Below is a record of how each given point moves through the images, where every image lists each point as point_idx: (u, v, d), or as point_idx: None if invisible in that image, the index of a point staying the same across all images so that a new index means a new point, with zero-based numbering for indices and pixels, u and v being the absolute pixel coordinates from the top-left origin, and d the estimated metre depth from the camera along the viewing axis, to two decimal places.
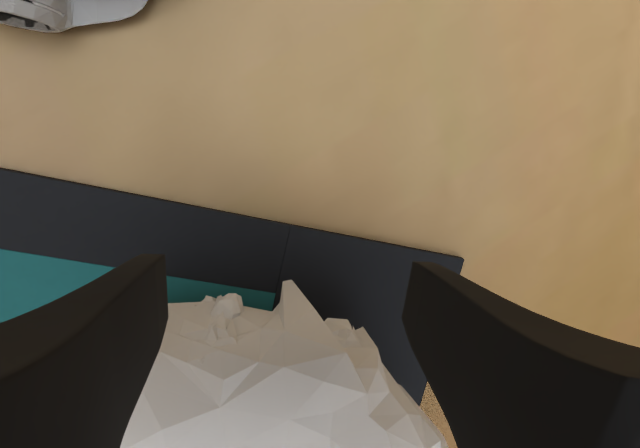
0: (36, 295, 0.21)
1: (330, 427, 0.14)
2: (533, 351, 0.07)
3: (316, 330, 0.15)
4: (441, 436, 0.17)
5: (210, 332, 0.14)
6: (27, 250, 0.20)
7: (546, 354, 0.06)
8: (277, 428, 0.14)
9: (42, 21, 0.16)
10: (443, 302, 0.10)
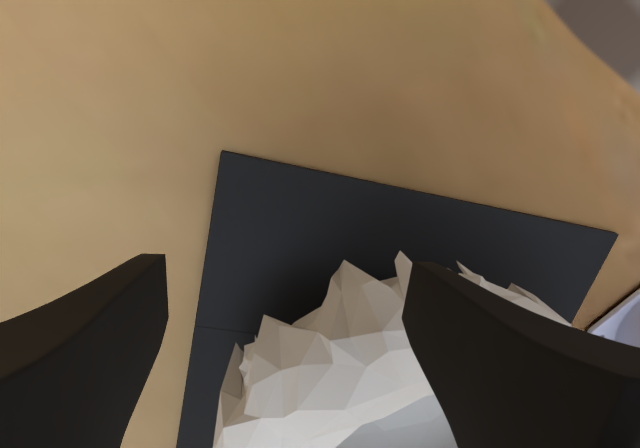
0: None
1: (295, 440, 0.15)
2: (533, 351, 0.07)
3: (218, 424, 0.16)
4: (358, 292, 0.15)
5: None
6: None
7: (547, 355, 0.06)
8: None
9: None
10: (443, 302, 0.10)
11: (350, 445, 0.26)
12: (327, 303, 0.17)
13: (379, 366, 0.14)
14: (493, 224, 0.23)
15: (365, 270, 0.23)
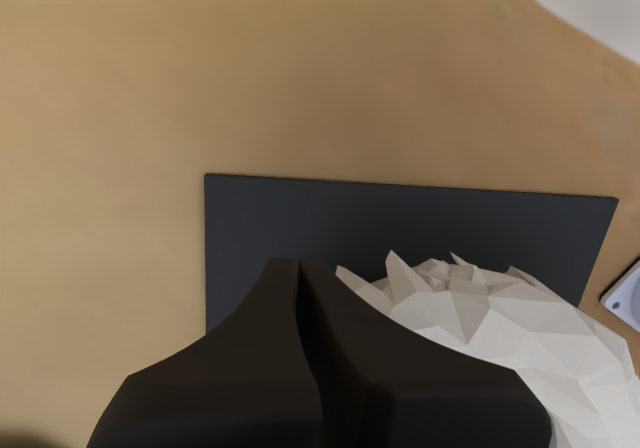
0: None
1: None
2: (339, 352, 0.06)
3: None
4: None
5: None
6: None
7: (342, 357, 0.06)
8: None
9: None
10: (308, 300, 0.09)
11: None
12: None
13: None
14: (487, 207, 0.23)
15: (364, 269, 0.23)
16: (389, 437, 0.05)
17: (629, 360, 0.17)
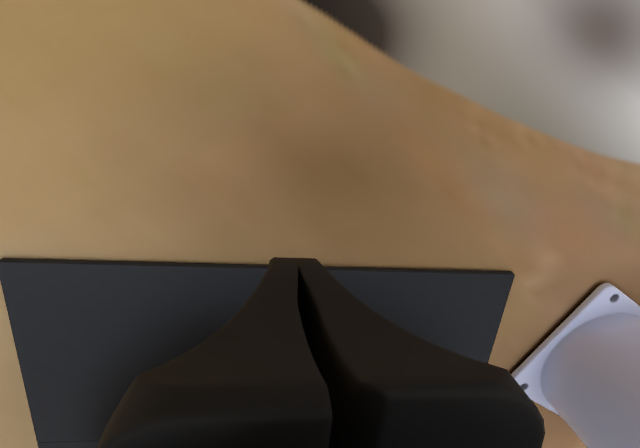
0: None
1: None
2: (333, 352, 0.06)
3: None
4: None
5: None
6: None
7: (336, 356, 0.06)
8: None
9: None
10: (304, 300, 0.09)
11: None
12: None
13: None
14: (355, 287, 0.19)
15: None
16: (381, 437, 0.05)
17: None
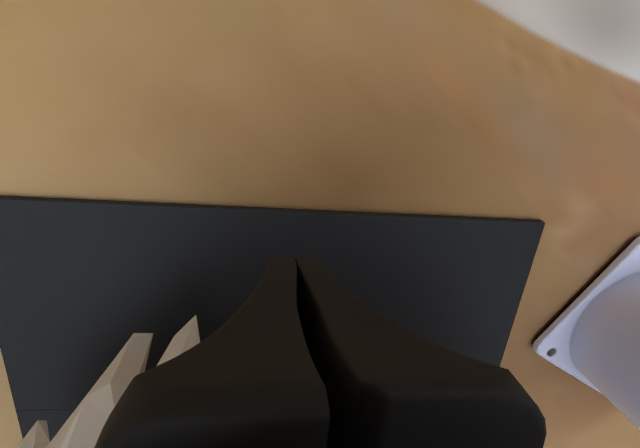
0: None
1: None
2: (334, 352, 0.06)
3: None
4: (79, 410, 0.10)
5: None
6: None
7: (337, 356, 0.06)
8: None
9: None
10: (305, 300, 0.09)
11: None
12: (71, 416, 0.12)
13: None
14: (368, 235, 0.17)
15: (213, 315, 0.18)
16: (382, 437, 0.05)
17: None
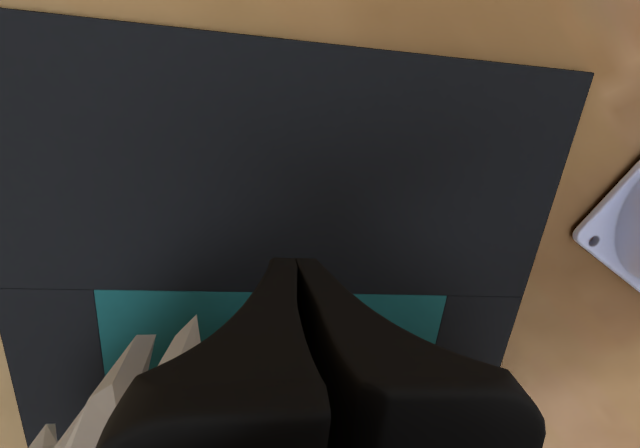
0: None
1: None
2: (334, 352, 0.06)
3: None
4: (82, 411, 0.11)
5: None
6: None
7: (336, 356, 0.06)
8: None
9: None
10: (304, 300, 0.09)
11: None
12: (76, 418, 0.12)
13: None
14: (393, 77, 0.15)
15: (215, 174, 0.16)
16: (382, 437, 0.05)
17: None
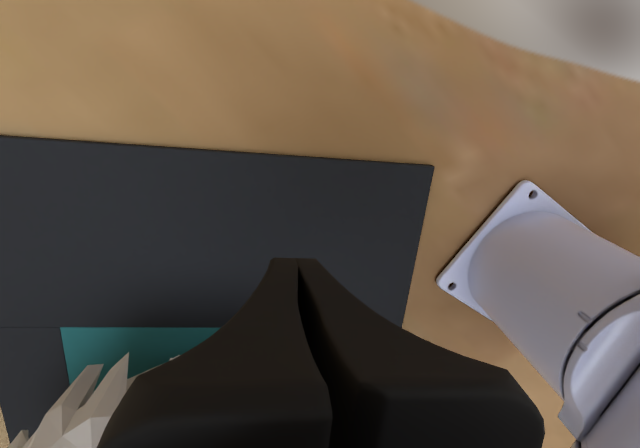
0: None
1: None
2: None
3: None
4: (40, 423, 0.16)
5: None
6: None
7: (336, 356, 0.06)
8: None
9: None
10: (304, 300, 0.09)
11: None
12: None
13: None
14: (279, 174, 0.20)
15: (149, 243, 0.21)
16: (380, 436, 0.05)
17: None
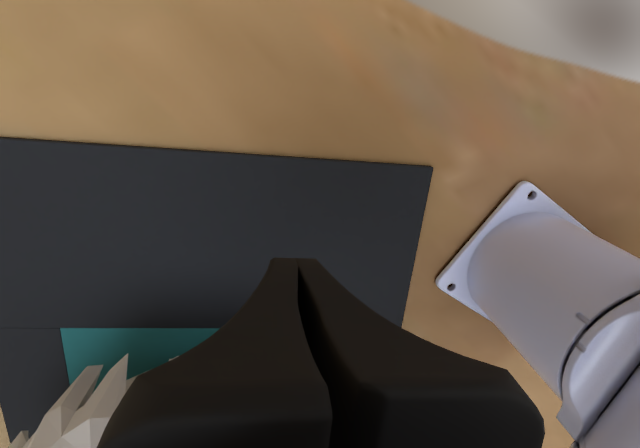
0: None
1: None
2: (333, 352, 0.06)
3: None
4: (40, 424, 0.16)
5: None
6: None
7: (336, 357, 0.06)
8: None
9: None
10: (304, 300, 0.09)
11: None
12: None
13: None
14: (278, 175, 0.20)
15: (148, 244, 0.21)
16: (381, 436, 0.05)
17: None
